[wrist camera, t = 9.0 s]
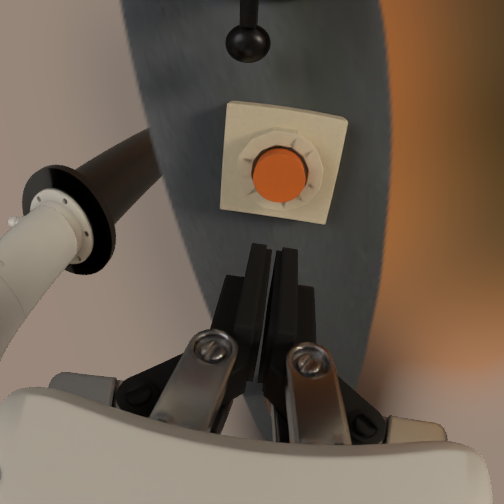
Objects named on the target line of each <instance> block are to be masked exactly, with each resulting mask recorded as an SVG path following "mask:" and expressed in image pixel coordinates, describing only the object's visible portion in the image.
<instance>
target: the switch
mask: <svg viewBox="0 0 504 504" xmlns="http://www.w3.org/2000/svg"><path fill="white" fill-rule="evenodd" d="M258 4H259V0H240V25H238V26H236V27H234V28H233V29H232V30H231V31H230V32H229V33H228V35H227V37H226V49H227V51H228V53H229V54H230V56H231V57H233V58H234V59H235V60H237V61H240V62H243V63H252V62H256V61H259V60H261V59H262V58H263V57H264V56H265V55H266V54H267V53H268V51H269V49H270V44H271V41H270V37H269V35H268V33H267V32H266V31H265V30H264V29H263V28H262V27H260V26H258V25H257V23H258Z"/></svg>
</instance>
